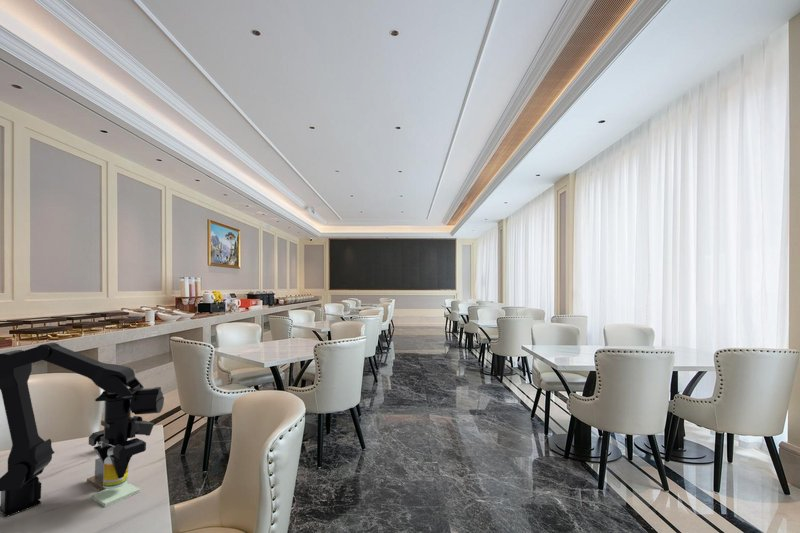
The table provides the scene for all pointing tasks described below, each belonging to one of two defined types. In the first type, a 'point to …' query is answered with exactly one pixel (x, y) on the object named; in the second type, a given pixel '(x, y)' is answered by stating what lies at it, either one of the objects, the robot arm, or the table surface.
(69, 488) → the table surface
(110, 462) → the supplement bottle
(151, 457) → the table surface
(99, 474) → the mounted unit
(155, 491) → the table surface
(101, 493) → the sage pad
